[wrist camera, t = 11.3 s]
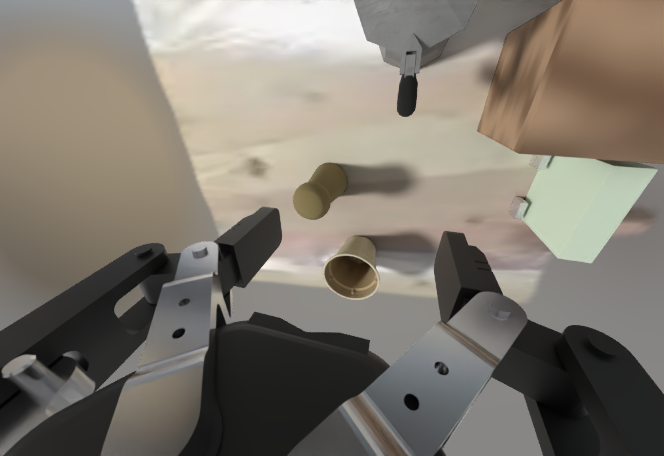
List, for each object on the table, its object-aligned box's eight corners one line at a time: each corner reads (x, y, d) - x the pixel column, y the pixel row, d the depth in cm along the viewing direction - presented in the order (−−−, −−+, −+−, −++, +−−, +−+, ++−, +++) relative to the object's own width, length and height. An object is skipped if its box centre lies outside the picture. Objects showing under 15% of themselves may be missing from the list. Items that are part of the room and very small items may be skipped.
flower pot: (329, 256, 48) (315, 285, 41) (345, 219, 43) (332, 245, 36) (372, 275, 47) (365, 308, 40) (392, 240, 42) (389, 270, 35)
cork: (354, 178, 39) (338, 204, 29) (334, 203, 42) (314, 234, 33) (325, 155, 38) (299, 174, 29) (307, 182, 41) (278, 207, 32)
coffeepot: (376, -47, 26) (331, -243, 11) (471, -67, 23) (588, -360, 8) (371, 110, 33) (341, 123, 18) (443, 107, 31) (477, 119, 16)
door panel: (550, 143, 30) (614, 166, 20) (587, 145, 29) (671, 170, 20) (518, 214, 35) (558, 258, 25) (548, 218, 34) (600, 264, 25)
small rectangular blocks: (537, 145, 30) (546, 149, 28) (594, 149, 29) (608, 153, 27) (508, 211, 35) (514, 218, 33) (555, 217, 33) (565, 225, 31)
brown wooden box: (506, 34, 26) (587, -15, 14) (630, 30, 24) (851, -32, 12) (476, 131, 31) (518, 153, 19) (576, 136, 29) (693, 166, 17)
